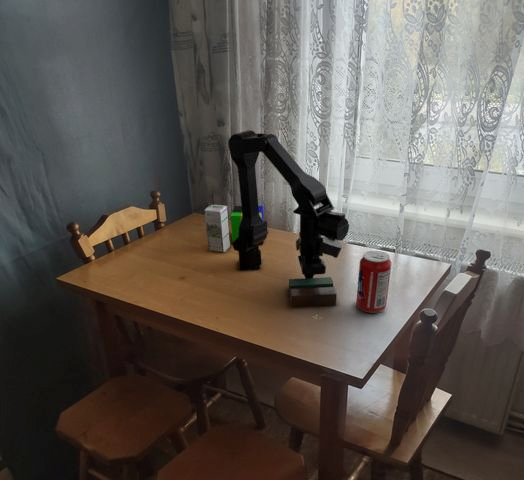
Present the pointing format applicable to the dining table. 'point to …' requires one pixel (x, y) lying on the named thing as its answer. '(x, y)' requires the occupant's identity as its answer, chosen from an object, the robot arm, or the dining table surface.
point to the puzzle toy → (239, 220)
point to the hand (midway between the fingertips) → (309, 282)
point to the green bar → (310, 283)
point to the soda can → (373, 281)
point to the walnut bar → (313, 297)
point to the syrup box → (217, 228)
